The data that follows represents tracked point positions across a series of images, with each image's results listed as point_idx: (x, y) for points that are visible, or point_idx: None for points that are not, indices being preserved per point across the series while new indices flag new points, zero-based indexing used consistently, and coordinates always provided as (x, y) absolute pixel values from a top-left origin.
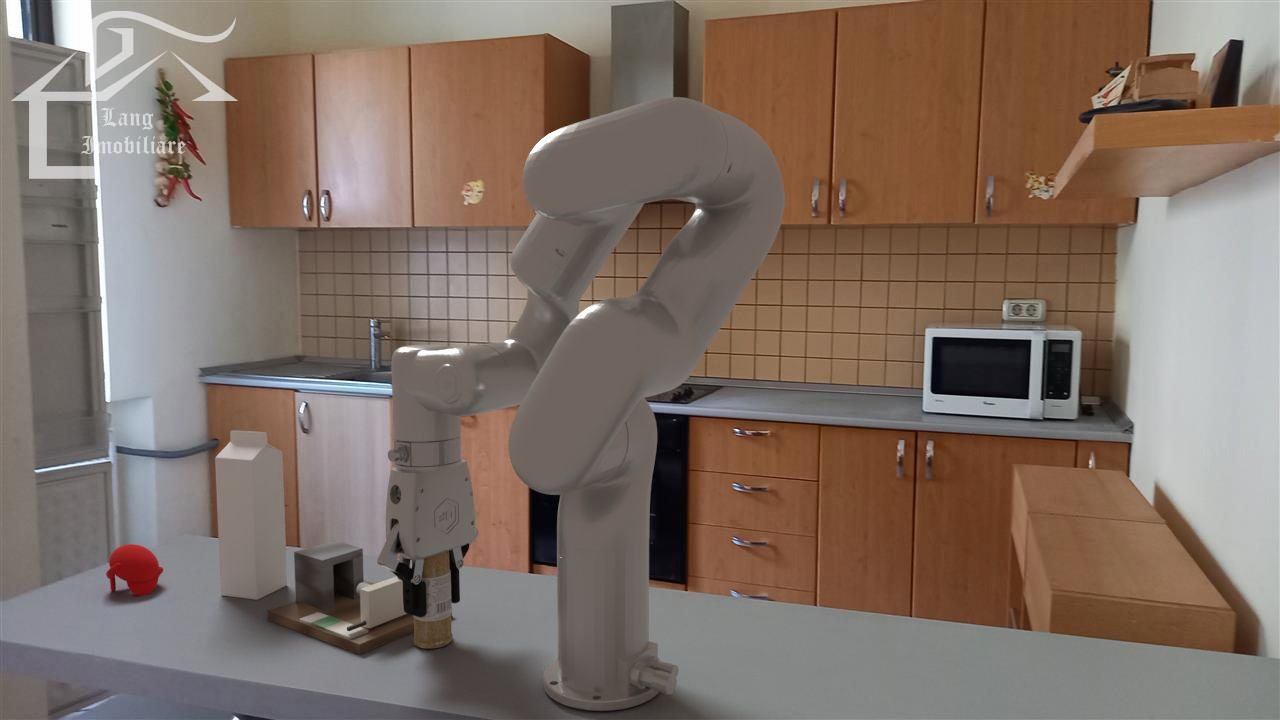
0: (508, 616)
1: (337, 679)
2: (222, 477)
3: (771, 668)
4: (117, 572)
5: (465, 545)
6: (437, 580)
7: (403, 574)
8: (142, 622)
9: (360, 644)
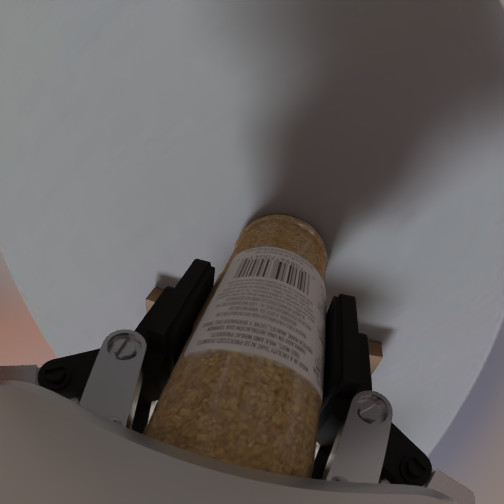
0: (95, 184)
1: (471, 316)
2: None
3: None
4: None
5: (53, 382)
6: (290, 355)
7: (410, 447)
8: None
9: (380, 356)
